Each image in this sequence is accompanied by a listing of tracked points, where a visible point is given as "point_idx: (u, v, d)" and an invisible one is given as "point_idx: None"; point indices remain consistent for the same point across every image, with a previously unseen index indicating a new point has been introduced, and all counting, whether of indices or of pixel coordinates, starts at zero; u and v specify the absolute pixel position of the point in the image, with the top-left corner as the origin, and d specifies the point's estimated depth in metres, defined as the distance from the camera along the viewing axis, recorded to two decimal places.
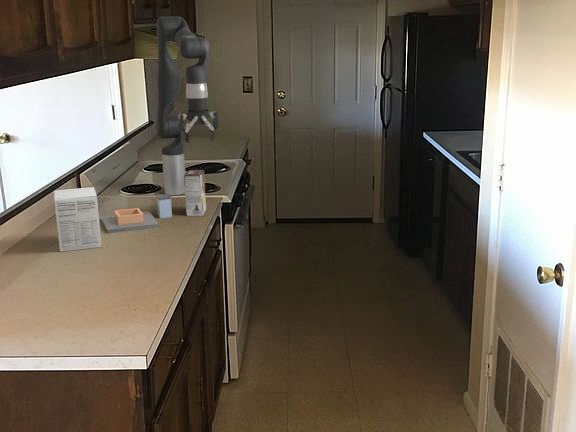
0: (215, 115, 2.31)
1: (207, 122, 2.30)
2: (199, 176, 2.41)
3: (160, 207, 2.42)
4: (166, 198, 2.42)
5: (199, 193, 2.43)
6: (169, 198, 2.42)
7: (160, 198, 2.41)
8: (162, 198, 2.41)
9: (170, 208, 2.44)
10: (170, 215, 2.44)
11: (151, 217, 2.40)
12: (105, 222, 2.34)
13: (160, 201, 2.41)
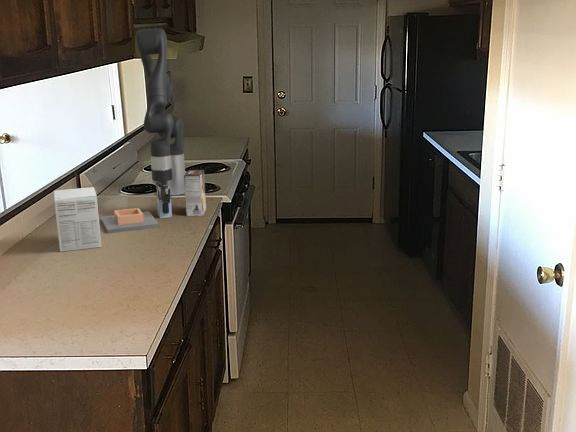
0: None
1: None
2: (199, 176, 2.41)
3: (160, 207, 2.42)
4: (166, 198, 2.42)
5: (199, 193, 2.43)
6: None
7: (160, 198, 2.41)
8: None
9: (170, 208, 2.44)
10: (170, 215, 2.44)
11: (151, 217, 2.40)
12: (105, 222, 2.34)
13: (160, 201, 2.41)
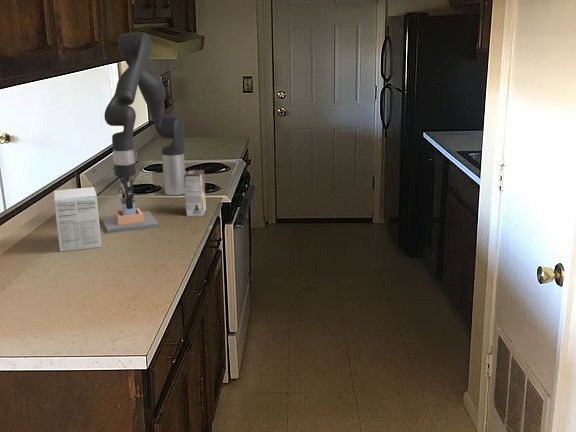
0: None
1: None
2: (199, 176, 2.41)
3: (124, 211, 2.33)
4: None
5: (199, 193, 2.43)
6: (133, 201, 2.33)
7: (123, 201, 2.32)
8: None
9: (134, 212, 2.35)
10: None
11: (151, 217, 2.40)
12: (105, 222, 2.34)
13: (123, 205, 2.32)
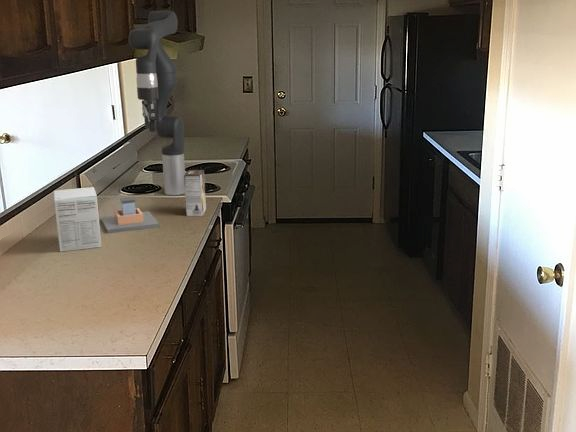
0: None
1: None
2: (199, 176, 2.41)
3: (124, 211, 2.33)
4: (130, 202, 2.33)
5: (199, 193, 2.43)
6: (133, 201, 2.33)
7: (123, 201, 2.32)
8: (126, 201, 2.32)
9: (134, 212, 2.35)
10: None
11: (151, 217, 2.40)
12: (105, 222, 2.34)
13: (123, 205, 2.32)
